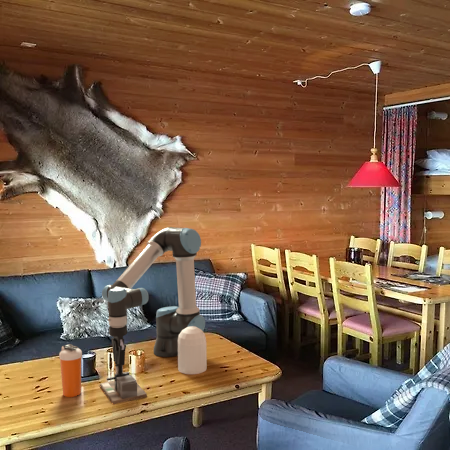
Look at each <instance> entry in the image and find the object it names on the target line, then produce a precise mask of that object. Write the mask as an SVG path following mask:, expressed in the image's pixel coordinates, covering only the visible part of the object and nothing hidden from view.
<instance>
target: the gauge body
mask: <svg viewBox="0 0 450 450" xmlns="http://www.w3.org/2000/svg"><path fill="white" fill-rule="evenodd" d="M100 386H101V387H100ZM99 387H100V389H101V388H102V389H103V390H102V389H101V390H102V391H103V393H104V392H105V393H104V394H105V396H108V397H107V398H108V399H109V401H110V402H111V403H113V404H112V405H115V404H119V403H120V404H121V403H124V402H128V401H134V400H139V399H143V398H147V397H148V394H147V392H146V391H145V390H144V389H143V388H142V387H141V386H140V385H139V384H138V382H137V380H136V378H135V377H133V375H132V374H130V375H127V376H122V377H117V389H115V380H109V381H105V382H101V383H99Z"/></svg>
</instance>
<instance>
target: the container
mask: <svg viewBox="0 0 450 450" xmlns="http://www.w3.org/2000/svg"><path fill="white" fill-rule="evenodd" d="M207 361H208V359H207V338H206V334H205V333H204V330H203V331H202V330H201V329H199V328H197V327H195V326H190V327H187V328H185V329H183V330H182V331H181V333H180V334H179V336H178V355H177V369H178V372H180V373H181V374H185V375H198V374H202V373H205V372H206V371H207V363H208V362H207Z"/></svg>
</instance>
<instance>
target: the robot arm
mask: <svg viewBox="0 0 450 450" xmlns="http://www.w3.org/2000/svg"><path fill="white" fill-rule="evenodd" d="M201 247H202V239H201V236H200V234H199V232H198V231H197V230H195V229H194V228H190V227H189V228H188V227H175V226H174V227H172V226H169V227H165V228H163V229H160V231H158V232H157V233H155V234H154V235H153V236H152V237H151V238H150V239H149V240H148V241H147V242H146V246H145V247H144V249H143V250H142V251H141V252H140V253H139V254H138V255H137V256H136V257H135V259H134V260H133V261H132V262H131V263H130V264H129V266H128V267H127V268H125V270H124V271H123V273H122V274H121V275H120V276H119V277H118V278H117V279H116V281H114V283H113V284H108V285H105V286H104V287H103V289H102V290H101V291H102V292H101V296H102V299H103V300H104V301H106V302H107V305H108V306H107V307H108V309H107V310H108V312H107V313H108V318H107V322H108V325H109V326H108V335H109V336H110V337H111V344H112V345H111V346H112V356H113V362H114V367H115V374H118V373H123V372H124V366H125V363H126V362H125V361H126V349H127V345H126V344H125V339H124V336H126V335H127V334H128V325H127V324H128V310H129V309H133V308H137V307H141V306H143V305H146V304H147V303H148V302H149V292H148V290H147V289H145V288H144V287H138V288H133V287H134V286H135V284H137V282H138V281H139V280H140V279H141V278H142V277H143V275H144V274H145V273H146V272H147V271H148V269H149V268H150V267H151V266H152V264H154V262H155V261H156V260H157V259H158V258H159V257H163V255H164V254H165V253H166V252H172V258H173V259H175V263H176V264H175V266H176V278H177V279H176V281H177V284H176V285H177V296H178V298H177V299H178V300H177V301H178V306H175V305H173V306H165V307H161V308H159V309H157V310H156V312H155V314H156V316H155V322H156V324H155V325H156V339H155V342H154V346H153V354H154V356H157V357H162V358H170V357H171V358H172V357H178V336H179V334H180V333H181V331H182V330H183V329H185V328H187V327H190V326H195V327H197V328H199V329H201V330H202V331H203V332H204V329H205V326H206V319H205V317H204V316H203V315H202V314H201V313H200V308H199V307H198V306H197V294H196V293H197V292H196V278H195V277H196V275H195V261H194V260H195V258H196V257H197V255H198V252H199V251H200V249H201Z"/></svg>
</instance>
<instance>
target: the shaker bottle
mask: <svg viewBox="0 0 450 450" xmlns="http://www.w3.org/2000/svg"><path fill="white" fill-rule="evenodd" d="M82 357H83V351H82V349H80V348H79V347H78V346H77V345H73V344H71V343H69V344H65V345H62V346H61V350H60V351H59V358H58V359H59V362H60V364H59V365H60V374H61V375H60V376H61V387H62V395H63V397H65V398H74V397H77V395H78V396H79V395H81V393H82Z"/></svg>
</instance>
